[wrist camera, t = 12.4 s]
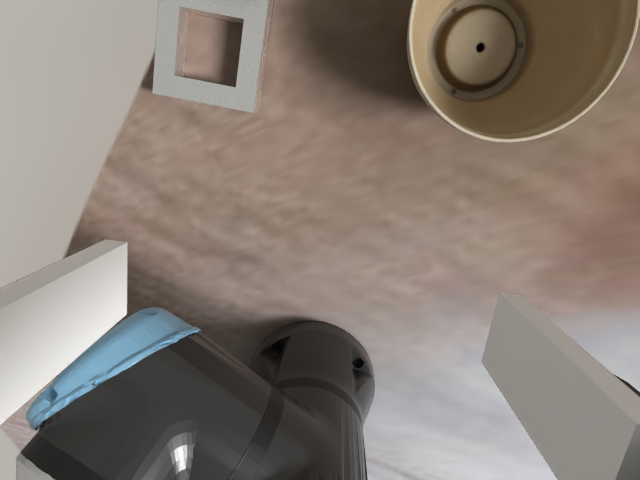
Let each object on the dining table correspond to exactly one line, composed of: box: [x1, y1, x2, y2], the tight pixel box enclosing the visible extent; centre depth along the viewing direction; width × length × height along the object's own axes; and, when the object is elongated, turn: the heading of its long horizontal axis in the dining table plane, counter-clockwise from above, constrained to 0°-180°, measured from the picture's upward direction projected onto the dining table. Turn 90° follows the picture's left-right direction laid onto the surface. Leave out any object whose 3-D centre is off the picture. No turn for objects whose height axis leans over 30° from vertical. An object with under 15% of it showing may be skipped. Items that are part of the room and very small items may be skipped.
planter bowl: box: [407, 0, 640, 142], centre depth 34 cm, size 16×16×11 cm
